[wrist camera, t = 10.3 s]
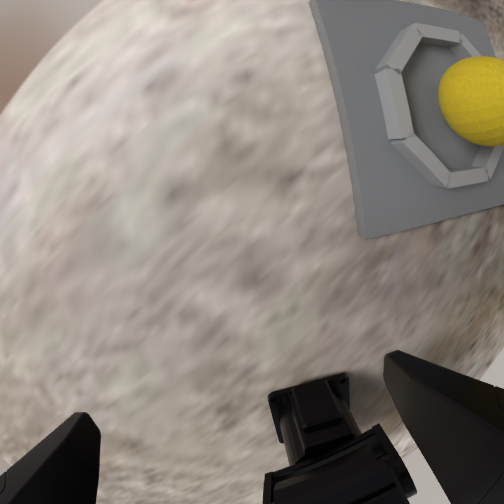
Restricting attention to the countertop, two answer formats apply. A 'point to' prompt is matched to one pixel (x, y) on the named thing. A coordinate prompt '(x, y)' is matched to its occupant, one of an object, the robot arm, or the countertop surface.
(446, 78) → the lemon
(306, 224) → the countertop surface
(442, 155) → the ring plate
